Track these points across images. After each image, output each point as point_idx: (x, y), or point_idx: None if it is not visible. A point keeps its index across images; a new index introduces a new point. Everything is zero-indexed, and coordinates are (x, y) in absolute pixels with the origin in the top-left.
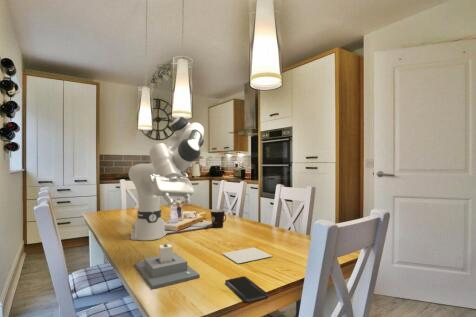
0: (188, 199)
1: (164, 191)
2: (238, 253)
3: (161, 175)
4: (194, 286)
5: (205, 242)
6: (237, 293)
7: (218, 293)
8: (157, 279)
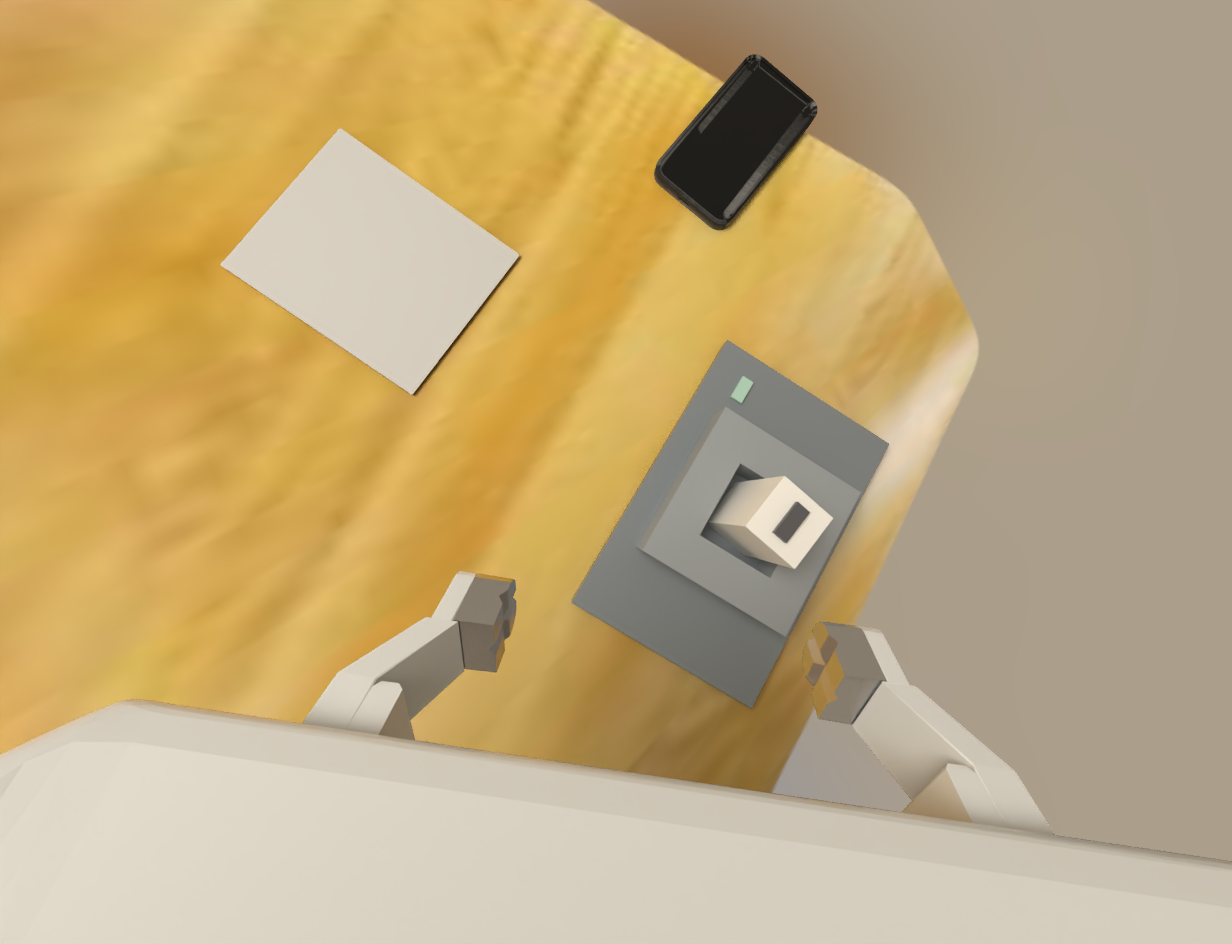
0: (451, 618)
1: (1142, 848)
2: (374, 309)
3: None
4: (796, 320)
5: (228, 614)
6: (788, 149)
7: (801, 218)
8: (841, 467)
